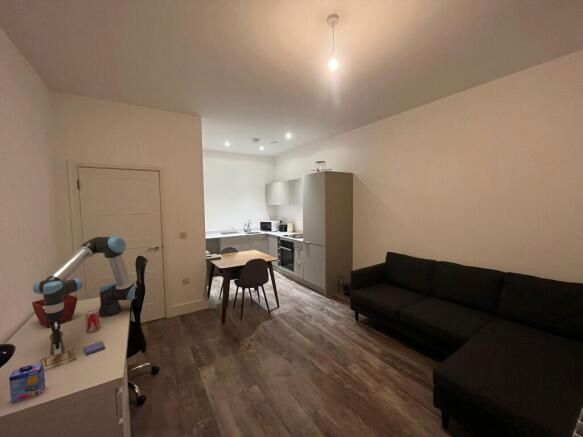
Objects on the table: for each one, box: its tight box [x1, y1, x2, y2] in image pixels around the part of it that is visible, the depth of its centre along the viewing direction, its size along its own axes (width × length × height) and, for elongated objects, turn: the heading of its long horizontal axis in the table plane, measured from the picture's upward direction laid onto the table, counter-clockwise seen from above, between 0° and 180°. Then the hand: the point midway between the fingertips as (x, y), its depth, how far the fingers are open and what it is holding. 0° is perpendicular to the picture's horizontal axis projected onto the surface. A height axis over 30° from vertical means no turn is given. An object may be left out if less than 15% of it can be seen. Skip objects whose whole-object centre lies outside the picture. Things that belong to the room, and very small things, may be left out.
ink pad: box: [82, 340, 106, 357], centre depth 145 cm, size 9×9×2 cm
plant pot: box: [31, 294, 78, 328], centre depth 178 cm, size 19×19×17 cm
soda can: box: [85, 309, 101, 334], centre depth 166 cm, size 7×7×13 cm
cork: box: [49, 330, 66, 356], centre depth 134 cm, size 6×6×11 cm
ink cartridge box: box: [8, 363, 46, 404], centre depth 110 cm, size 10×6×14 cm, turn 124°
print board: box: [39, 347, 77, 372], centre depth 135 cm, size 14×14×1 cm
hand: (57, 351), depth 134 cm, fingers closed on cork, 6 cm apart
